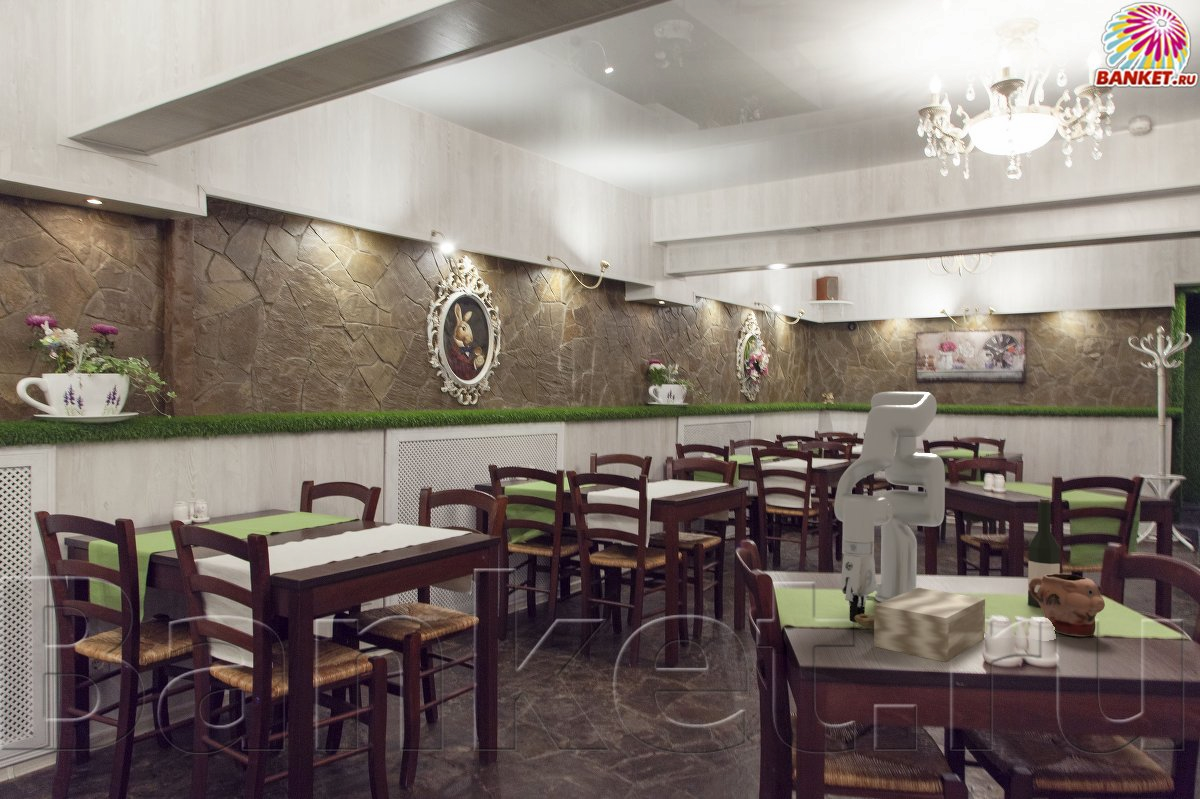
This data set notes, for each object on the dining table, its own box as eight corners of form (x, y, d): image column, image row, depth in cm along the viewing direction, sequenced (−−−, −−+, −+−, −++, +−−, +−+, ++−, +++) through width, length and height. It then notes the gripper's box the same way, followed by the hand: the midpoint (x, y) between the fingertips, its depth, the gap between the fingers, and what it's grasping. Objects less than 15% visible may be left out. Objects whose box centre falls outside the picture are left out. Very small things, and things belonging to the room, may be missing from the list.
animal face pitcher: (1011, 623, 207) (1012, 569, 207) (1041, 618, 212) (1041, 566, 213) (1089, 644, 189) (1090, 585, 189) (1119, 638, 195) (1120, 581, 195)
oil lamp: (851, 630, 197) (851, 610, 197) (891, 623, 204) (891, 604, 204) (885, 642, 188) (886, 620, 188) (926, 634, 195) (926, 613, 195)
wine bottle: (1052, 602, 231) (1053, 498, 231) (1065, 609, 223) (1067, 501, 223) (1021, 601, 232) (1023, 497, 232) (1034, 608, 224) (1035, 500, 224)
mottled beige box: (874, 646, 184) (874, 604, 184) (917, 625, 204) (918, 587, 204) (945, 662, 174) (946, 618, 174) (984, 638, 193) (985, 598, 193)
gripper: (858, 553, 193) (857, 630, 193) (885, 546, 204) (884, 619, 204) (830, 549, 198) (828, 624, 198) (857, 543, 209) (856, 613, 209)
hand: (856, 621), depth 201 cm, fingers closed
